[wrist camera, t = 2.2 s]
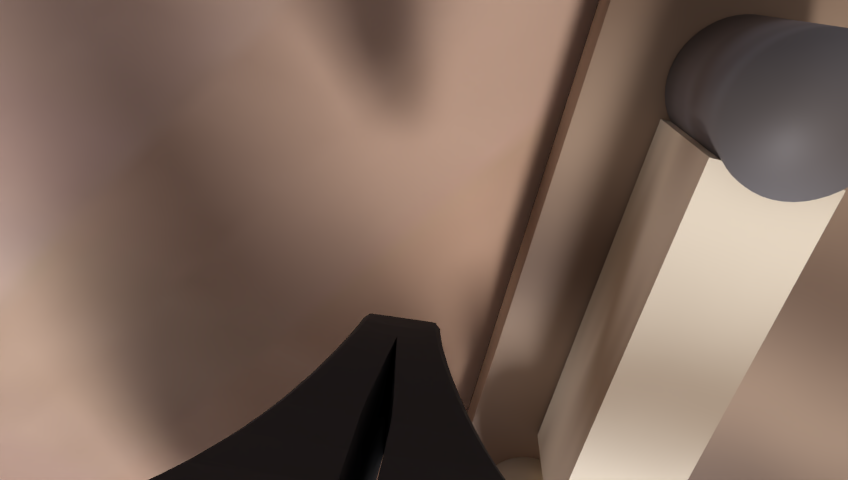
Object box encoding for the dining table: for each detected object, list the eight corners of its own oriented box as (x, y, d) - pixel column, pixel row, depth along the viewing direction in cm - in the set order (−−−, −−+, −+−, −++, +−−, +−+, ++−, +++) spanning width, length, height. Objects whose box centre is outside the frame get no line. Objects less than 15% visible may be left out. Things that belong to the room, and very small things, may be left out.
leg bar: (696, -1, 12) (766, 6, 9) (833, 32, 12) (946, 51, 9) (530, 433, 17) (541, 531, 14) (628, 457, 17) (660, 558, 14)
